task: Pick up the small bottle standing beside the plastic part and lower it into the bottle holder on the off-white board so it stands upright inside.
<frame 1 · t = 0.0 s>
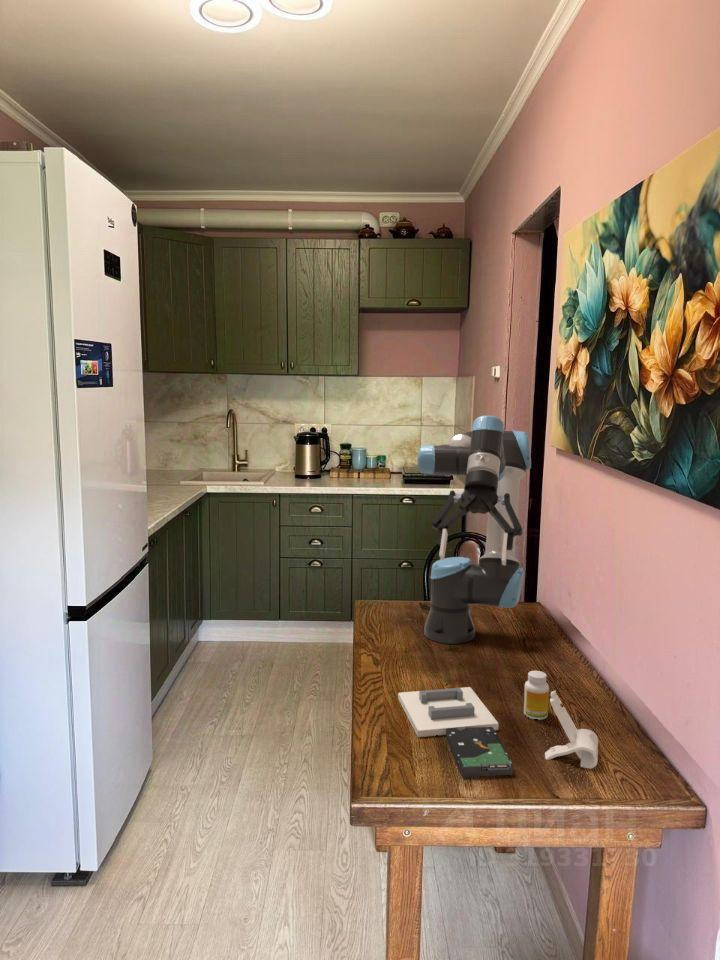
hand: (472, 560, 145), 36 cm above the table, tool tilted 35°, fingers open, 13 cm apart
supplement bottle: (535, 715, 149), on the table
bottle holder: (445, 713, 150), on the table
plastic part: (572, 756, 133), on the table
disk drive: (477, 758, 133), on the table
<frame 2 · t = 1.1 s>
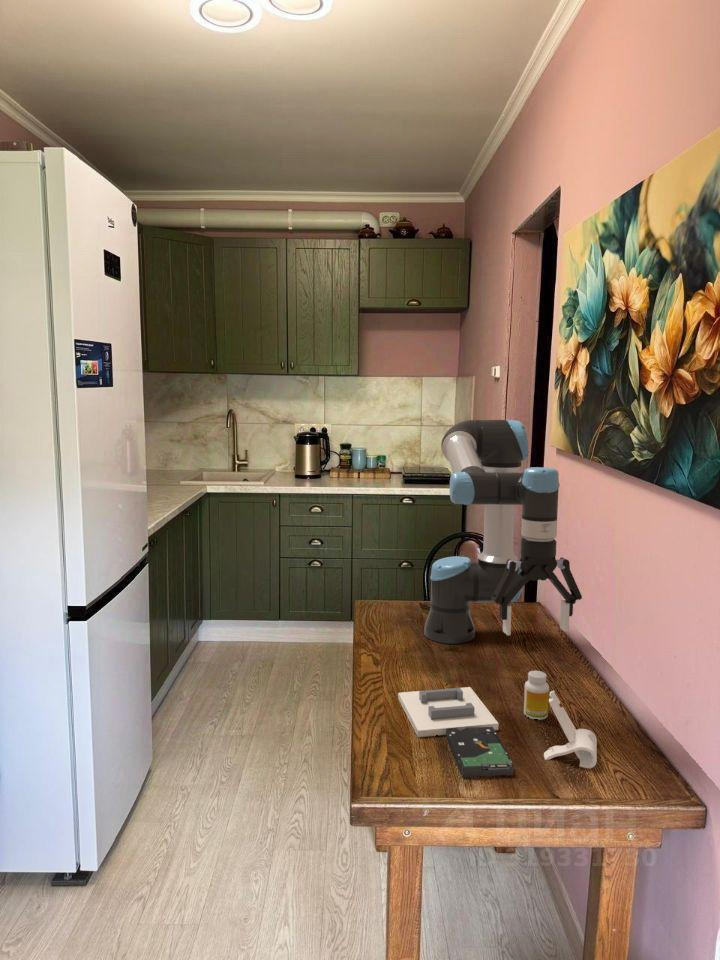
hand: (535, 631, 147), 20 cm above the table, tool pointing down, fingers open, 13 cm apart
nothing on the table moved.
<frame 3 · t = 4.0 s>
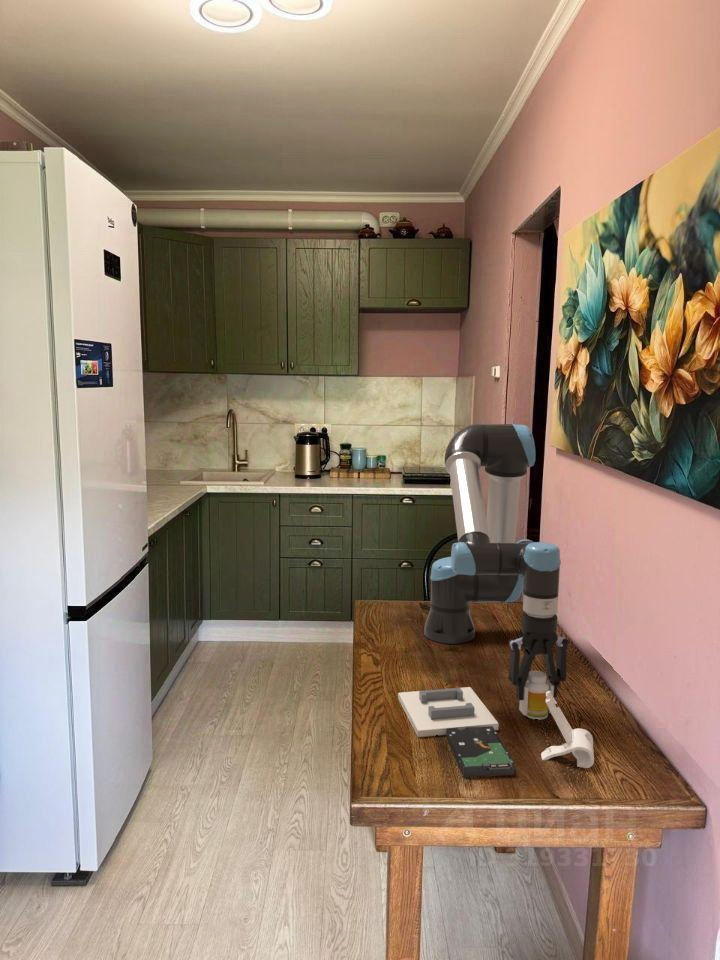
hand: (535, 711, 149), 1 cm above the table, tool pointing down, fingers closed on supplement bottle, 5 cm apart
supplement bottle: (535, 715, 149), on the table, touching gripper
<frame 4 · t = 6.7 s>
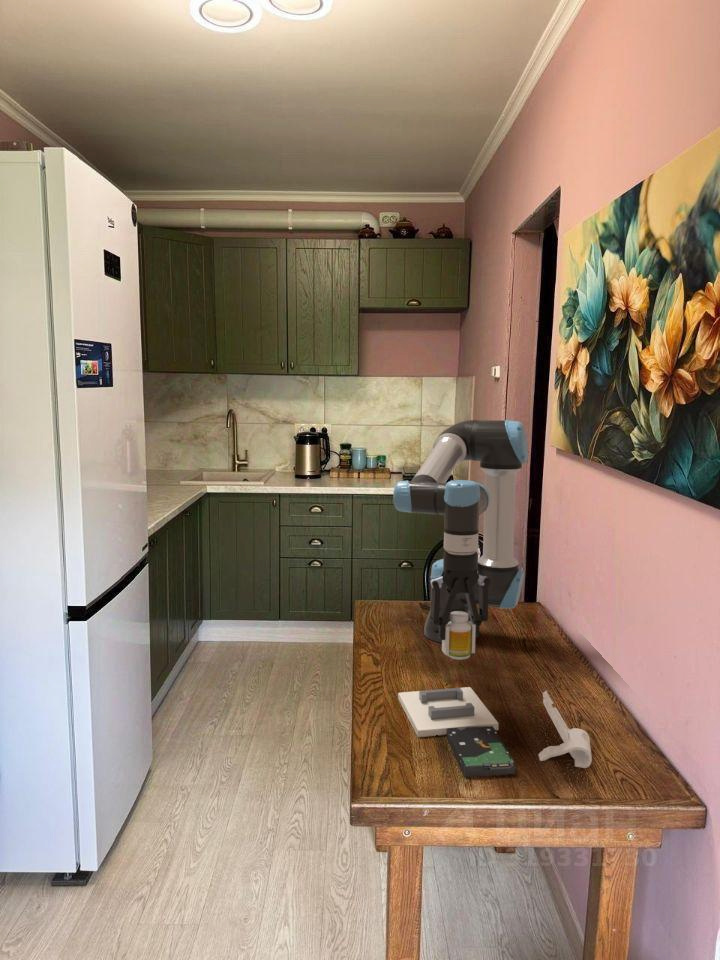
hand: (458, 651, 148), 15 cm above the table, tool pointing down, fingers closed on supplement bottle, 5 cm apart
supplement bottle: (458, 656, 148), point 14 cm above the table, touching gripper
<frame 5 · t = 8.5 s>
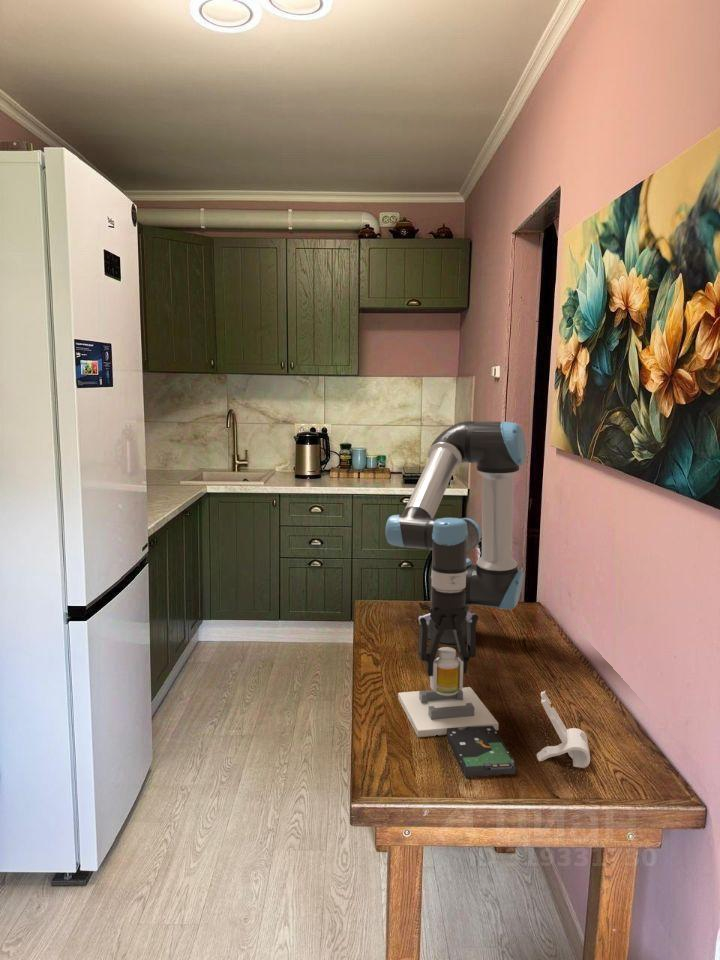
hand: (446, 687, 149), 6 cm above the table, tool pointing down, fingers closed on supplement bottle, 5 cm apart
supplement bottle: (446, 692, 149), point 5 cm above the table, touching gripper
when the fingers open (3 cm above the table, at t = 9.8 s): supplement bottle stays where it is, resting on bottle holder.
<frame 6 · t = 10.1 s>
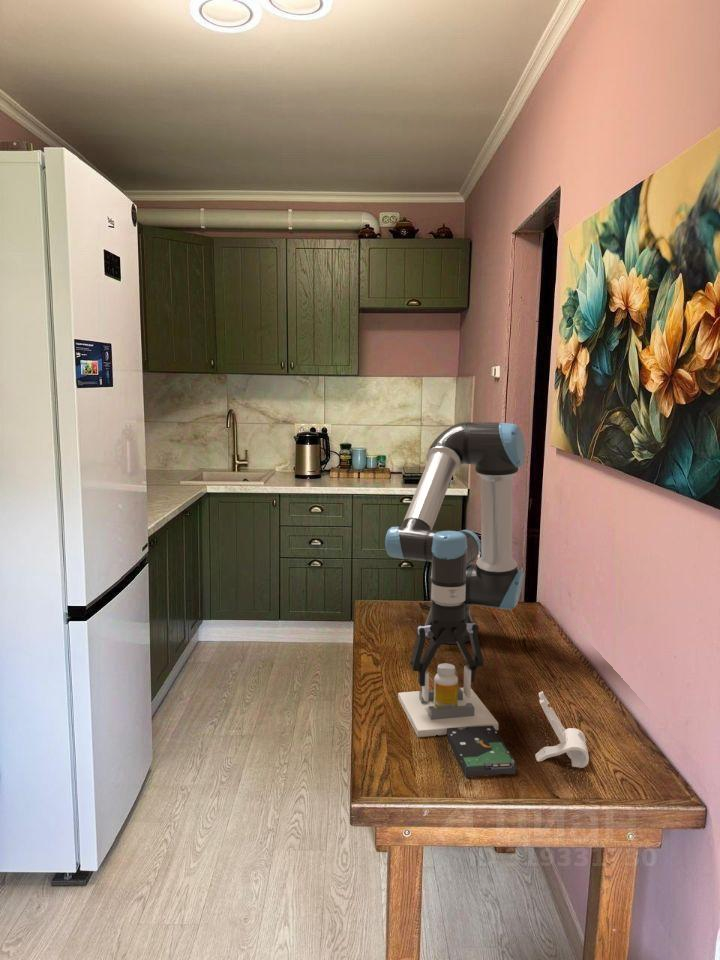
hand: (446, 696, 149), 4 cm above the table, tool pointing down, fingers open, 9 cm apart
supplement bottle: (445, 708, 150), point 1 cm above the table, touching bottle holder
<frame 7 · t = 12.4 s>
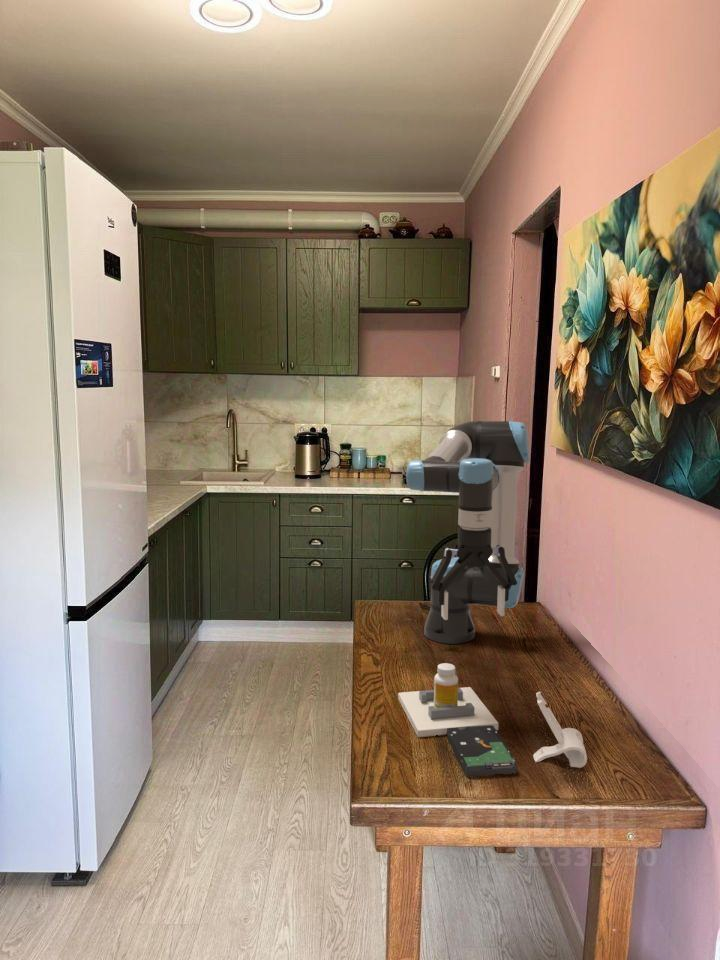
hand: (472, 616, 153), 21 cm above the table, tool pointing down, fingers open, 13 cm apart
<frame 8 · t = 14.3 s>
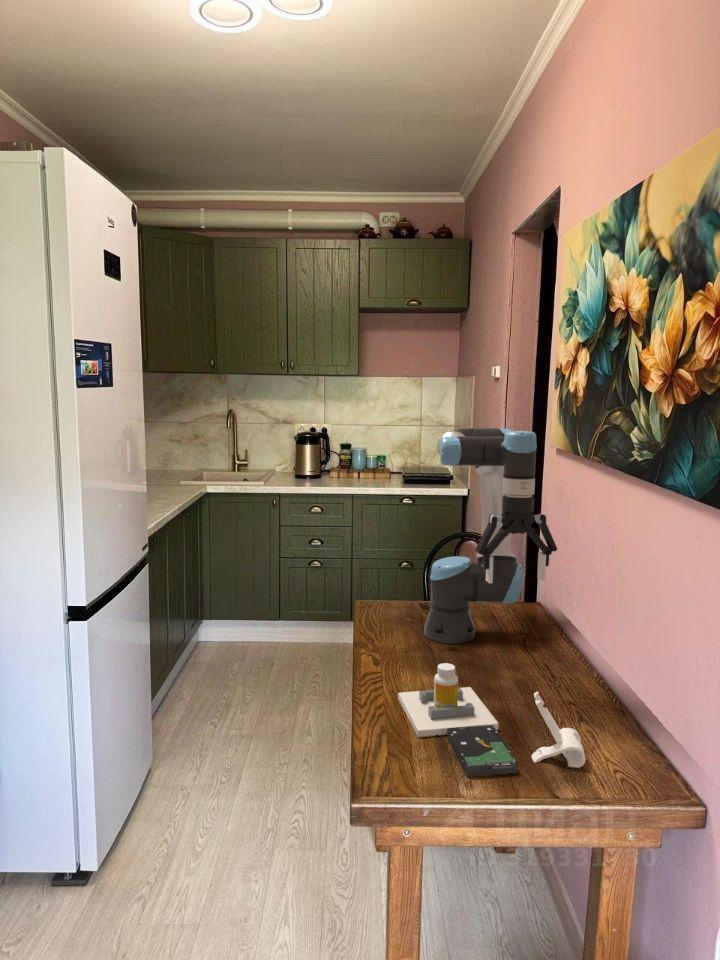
hand: (515, 580, 162), 27 cm above the table, tool pointing down, fingers open, 13 cm apart
at the end: supplement bottle 0.1 cm off-centre on the bottle holder, point 1.3 cm above the bottle holder's base; supplement bottle tilted 0°; the gripper is holding nothing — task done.
